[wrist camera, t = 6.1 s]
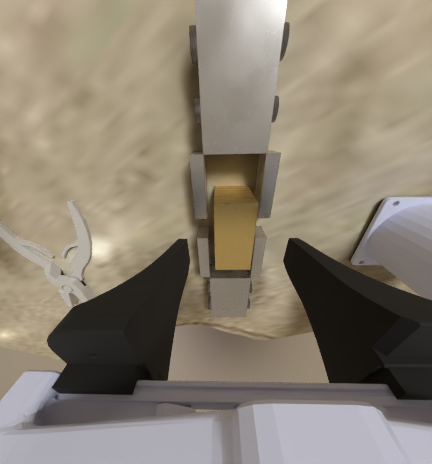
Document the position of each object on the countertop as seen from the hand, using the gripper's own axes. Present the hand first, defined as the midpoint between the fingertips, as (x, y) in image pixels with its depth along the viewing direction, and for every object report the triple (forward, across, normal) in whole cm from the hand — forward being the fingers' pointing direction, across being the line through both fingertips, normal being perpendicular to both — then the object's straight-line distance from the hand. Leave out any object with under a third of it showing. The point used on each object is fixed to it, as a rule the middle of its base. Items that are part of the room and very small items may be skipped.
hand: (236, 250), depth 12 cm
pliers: (+6, +20, +5) cm, 22 cm away
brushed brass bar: (+5, 0, 0) cm, 5 cm away
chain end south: (+5, 0, -7) cm, 9 cm away
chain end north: (+5, 0, +7) cm, 9 cm away
